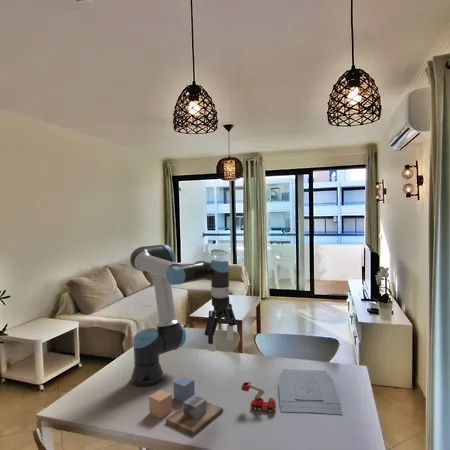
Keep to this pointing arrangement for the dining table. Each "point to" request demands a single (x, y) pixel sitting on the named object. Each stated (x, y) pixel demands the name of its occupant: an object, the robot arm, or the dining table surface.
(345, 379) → the dining table surface
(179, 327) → the robot arm
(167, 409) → the terracotta brick
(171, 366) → the dining table surface
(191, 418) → the board
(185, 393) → the slate blue brick
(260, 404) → the toy fire truck
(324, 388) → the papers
